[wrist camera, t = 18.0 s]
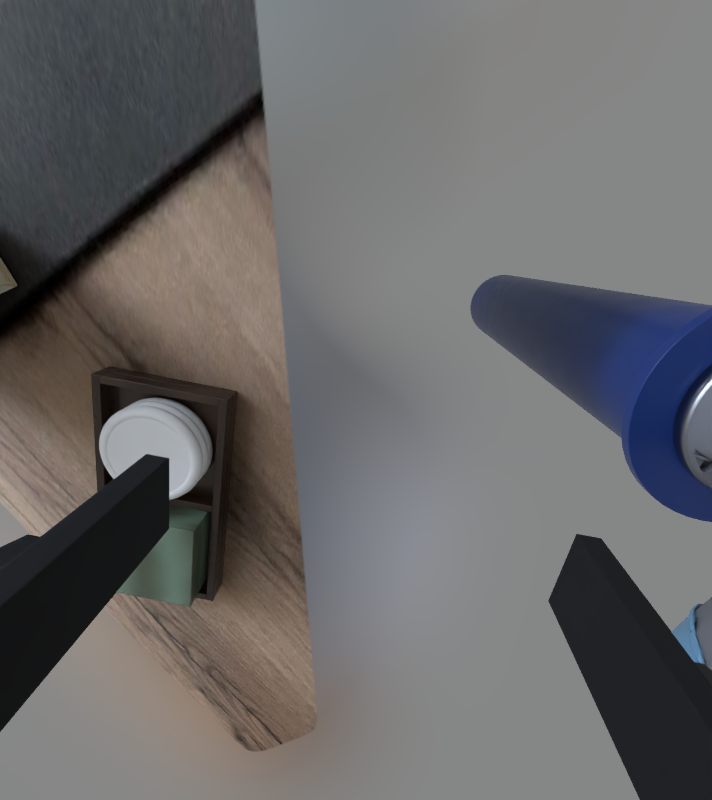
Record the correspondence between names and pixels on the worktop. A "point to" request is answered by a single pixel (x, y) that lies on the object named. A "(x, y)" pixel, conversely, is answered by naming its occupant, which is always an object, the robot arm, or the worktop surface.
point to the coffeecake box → (6, 278)
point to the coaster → (158, 441)
